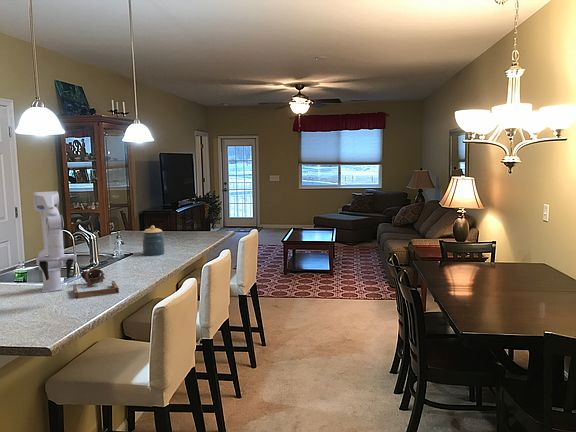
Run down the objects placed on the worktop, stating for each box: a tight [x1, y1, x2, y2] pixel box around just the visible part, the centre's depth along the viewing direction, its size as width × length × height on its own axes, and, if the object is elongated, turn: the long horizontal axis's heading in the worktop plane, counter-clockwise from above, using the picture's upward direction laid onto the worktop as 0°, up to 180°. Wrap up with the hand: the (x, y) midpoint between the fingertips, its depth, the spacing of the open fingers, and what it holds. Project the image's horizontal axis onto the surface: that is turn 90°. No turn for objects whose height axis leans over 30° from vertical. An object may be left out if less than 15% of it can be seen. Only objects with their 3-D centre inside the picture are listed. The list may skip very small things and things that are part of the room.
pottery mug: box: [80, 268, 106, 287], centre depth 227 cm, size 12×10×8 cm
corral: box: [72, 280, 120, 299], centre depth 214 cm, size 14×17×2 cm
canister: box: [141, 225, 166, 257], centre depth 296 cm, size 13×13×18 cm
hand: (57, 278), depth 197 cm, fingers open, 7 cm apart
